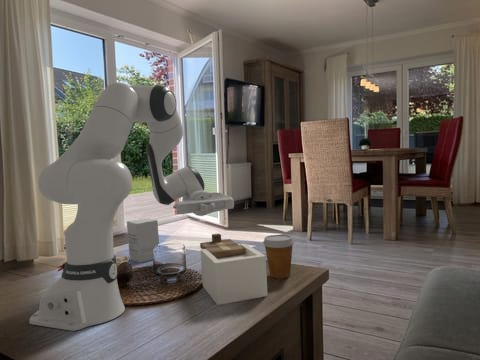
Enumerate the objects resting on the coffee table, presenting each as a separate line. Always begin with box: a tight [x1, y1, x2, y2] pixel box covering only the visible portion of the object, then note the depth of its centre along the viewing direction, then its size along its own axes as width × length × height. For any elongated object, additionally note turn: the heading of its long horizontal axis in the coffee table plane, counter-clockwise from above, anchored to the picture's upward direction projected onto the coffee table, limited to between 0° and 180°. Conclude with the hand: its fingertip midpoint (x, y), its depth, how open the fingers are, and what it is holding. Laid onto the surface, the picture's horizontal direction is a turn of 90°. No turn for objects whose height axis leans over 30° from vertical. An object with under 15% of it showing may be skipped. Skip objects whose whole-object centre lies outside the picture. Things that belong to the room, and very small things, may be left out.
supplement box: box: [126, 217, 160, 264], centre depth 148 cm, size 9×9×15 cm
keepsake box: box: [200, 243, 268, 306], centre depth 108 cm, size 16×14×11 cm
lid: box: [199, 233, 245, 258], centre depth 117 cm, size 14×10×4 cm
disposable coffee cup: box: [262, 234, 295, 279], centre depth 120 cm, size 10×10×12 cm
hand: (210, 208), depth 127 cm, fingers closed
